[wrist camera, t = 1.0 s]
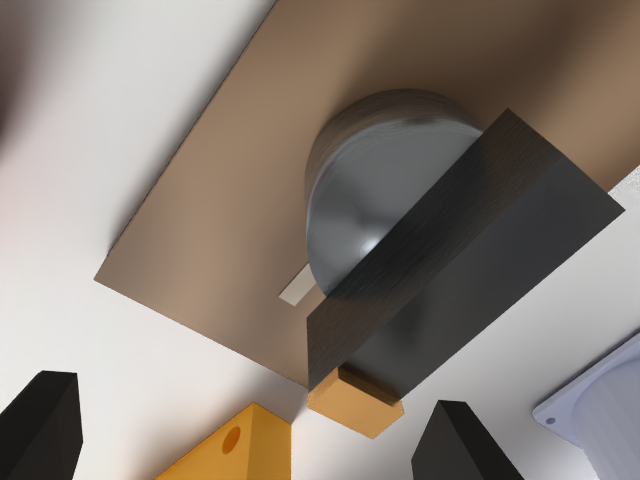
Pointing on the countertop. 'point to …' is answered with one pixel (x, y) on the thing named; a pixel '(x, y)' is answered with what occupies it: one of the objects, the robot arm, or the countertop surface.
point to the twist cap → (426, 241)
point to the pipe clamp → (240, 450)
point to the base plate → (321, 107)
